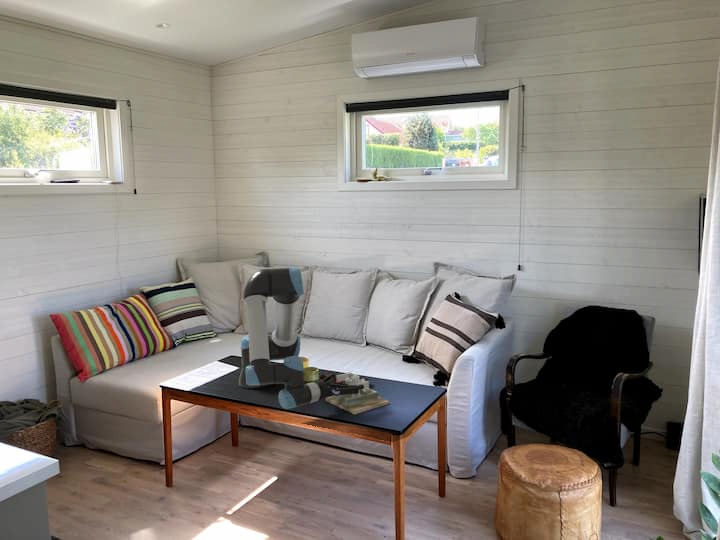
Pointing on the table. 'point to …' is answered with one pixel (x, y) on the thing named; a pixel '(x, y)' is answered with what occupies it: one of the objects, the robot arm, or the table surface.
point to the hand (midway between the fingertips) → (358, 379)
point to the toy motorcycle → (341, 381)
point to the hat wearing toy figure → (354, 382)
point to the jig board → (358, 401)
